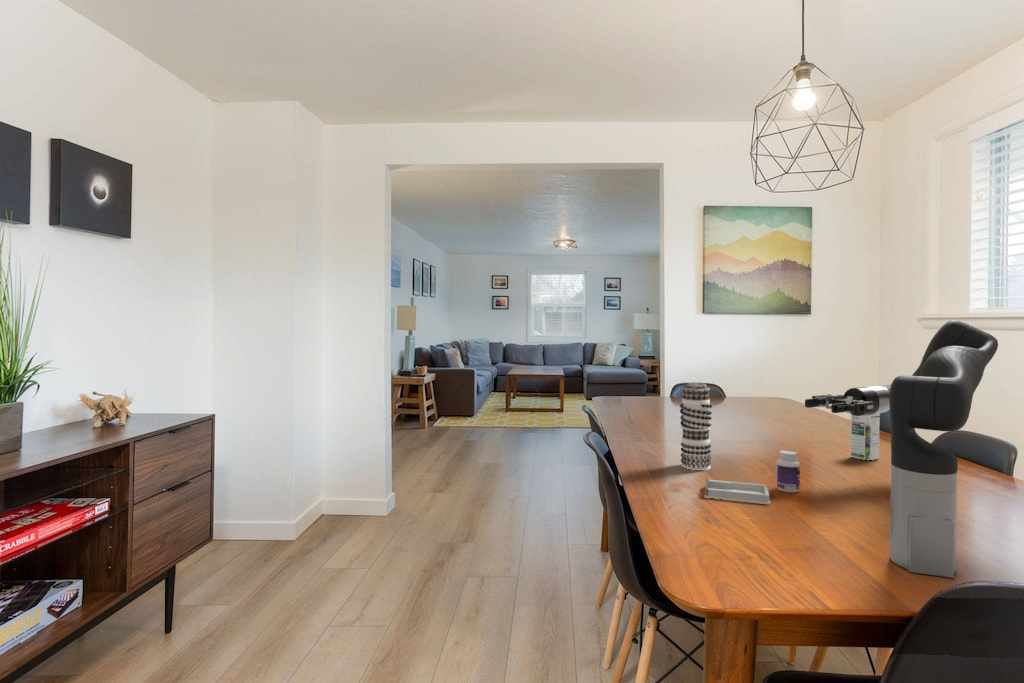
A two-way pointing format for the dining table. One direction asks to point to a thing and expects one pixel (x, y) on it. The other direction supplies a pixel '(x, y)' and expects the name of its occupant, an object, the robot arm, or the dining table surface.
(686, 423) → the decorative candle
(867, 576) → the dining table surface
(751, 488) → the white rimmed tray
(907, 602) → the dining table surface
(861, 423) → the syrup box
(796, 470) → the pill bottle
